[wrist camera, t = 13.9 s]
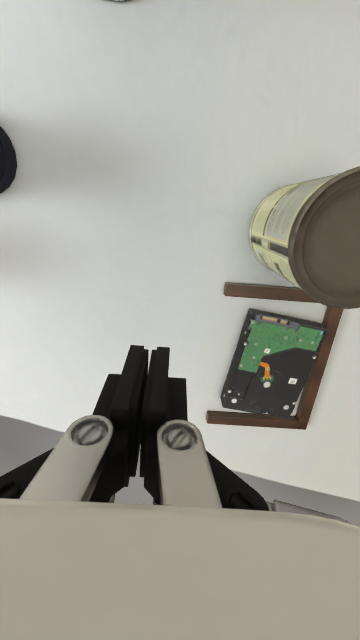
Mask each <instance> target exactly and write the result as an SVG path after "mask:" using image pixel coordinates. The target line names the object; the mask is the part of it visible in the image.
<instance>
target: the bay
mask: <svg viewBox="0 0 360 640" xmlns="http://www.w3.org/2000/svg"><path fill="white" fill-rule="evenodd" d="M224 294H225V296H234V297H247V298H261V299H274V300H287V301H301V302H314V303H319V302H317V301H315V300H314V299H312V298H311V297H310V296H309V295H307V294H306V293H305V292H304V291H303V290H302V289H301V288H292V287H279V286H266V285H253V284H240V283H227V282H226V283H225V289H224ZM342 312H343V309H341V308H334V307H330V306H327V310H326V313H325V317H324V320H323V324H322V325H323V326H324V327H325V328H326V329H327V330H328V333H327V335H326V337H325V339H324V341H323V345H322V347H321V349H320V351H319V353H318V355H317V357H316V359H315V362H314V363H313V366H312V368H311V370H310V372H309V375H308V377H307V379H306V383H305V386H304V390H303V393H302V397H301V400H300V404H299V407H298V411H297V414H296V416H290V417H289V419H285V418H279V417H274V415H266V414H251V413H235V412H219V411H207V417H206V419H207V423H209V424H225V425H242V426H258V427H274V428H290V429H305V430H306V428H307V424H308V421H309V418H310V415H311V411H312V408H313V405H314V402H315V399H316V395H317V392H318V389H319V386H320V382H321V379H322V376H323V373H324V370H325V366H326V363H327V360H328V357H329V354H330V350H331V347H332V344H333V341H334V337H335V334H336V331H337V328H338V325H339V321H340V318H341V315H342Z"/></svg>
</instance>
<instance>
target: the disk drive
mask: <svg viewBox="0 0 360 640" xmlns="http://www.w3.org/2000/svg"><path fill="white" fill-rule="evenodd" d="M327 333H328V330H327V329H326V328H325V327H324V326H323V325H321V324H320V323H316V322H311V321H307V320H303V319H298V318H293V317H288V316H283V315H278V314H274V313H269V312H264V311H259V310H254V309H249V312H248V314H247V317H246V320H245V322H244V326H243V329H242V332H241V335H240V338H239V341H238V344H237V347H236V351H235V354H234V357H233V360H232V363H231V366H230V369H229V372H228V375H227V378H226V381H225V384H224V387H223V391H222V394H221V402H222V406H223V407H224V408H229V409H235V410H241V411H246V412H251V413H256V414H262V413H266V412H268V413H269V414H271V415H274V417H279V418H285V419H289V417H290V415H291V413H292V411H293V409H294V407H295V403H296V402H297V400H298V398H299V395H300V393H301V390H302V388H303V386H304V384H305V381H306V379H307V377H308V375H309V372H310V370H311V368H312V366H313V363H314V362H315V359H316V357H317V355H318V353H319V351H320V349H321V347H322V345H323V341H324V339H325V337H326V335H327Z"/></svg>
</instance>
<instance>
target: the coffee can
mask: <svg viewBox="0 0 360 640" xmlns="http://www.w3.org/2000/svg"><path fill="white" fill-rule="evenodd" d="M249 241H250V246H251V250H252V251H253V253H254V255H255V257H256V258H257V259H258V261H259V262H260V263H261V264H263V265H264V266H265V267H267V268H268V269H270V270H272V271H274V272H276V273H277V274H279V275H280V276H282V277H283V278H285V279H286V280H288V281H290V282H291V283H293V284H294V285H296V286H297V287H299V288H301V289H302V290H303V291H304V292H305V293H306V294H307V295H309V296H310V297H311V298H312V299H314V300H315V301H317V302H319V303H321V304H323V305H326V306H330V307H334V308H341V309H351V308H359V307H360V167H356V168H353V169H351V170H348V171H345V172H343V173H339V174H335V175H331V176H327V177H323V178H318V179H314V180H310V181H306V182H302V183H298V184H290V185H286V186H283V187H280V188H278V189H276V190H275V191H273V192H272V193H270V194H269V195H268V196H267V197H266V198H265V199H264V200H263V201H262V202H261V203H260V204H259V206H258V207H257V209H256V211H255V213H254V215H253V216H252V220H251V223H250V229H249Z"/></svg>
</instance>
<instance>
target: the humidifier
mask: <svg viewBox="0 0 360 640" xmlns="http://www.w3.org/2000/svg"><path fill="white" fill-rule="evenodd" d="M16 168H17V162H16V154H15V150H14V148H13V145H12V143H11V140H10V138H9V137H8V136H7V134H6V133H5V131H4V130H3V129H2V127H1V126H0V193H2V192H3V191H5V190H6V189H7V188H8V187H10V185H11V183H12V181H13V180H14V178H15V173H16Z"/></svg>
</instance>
